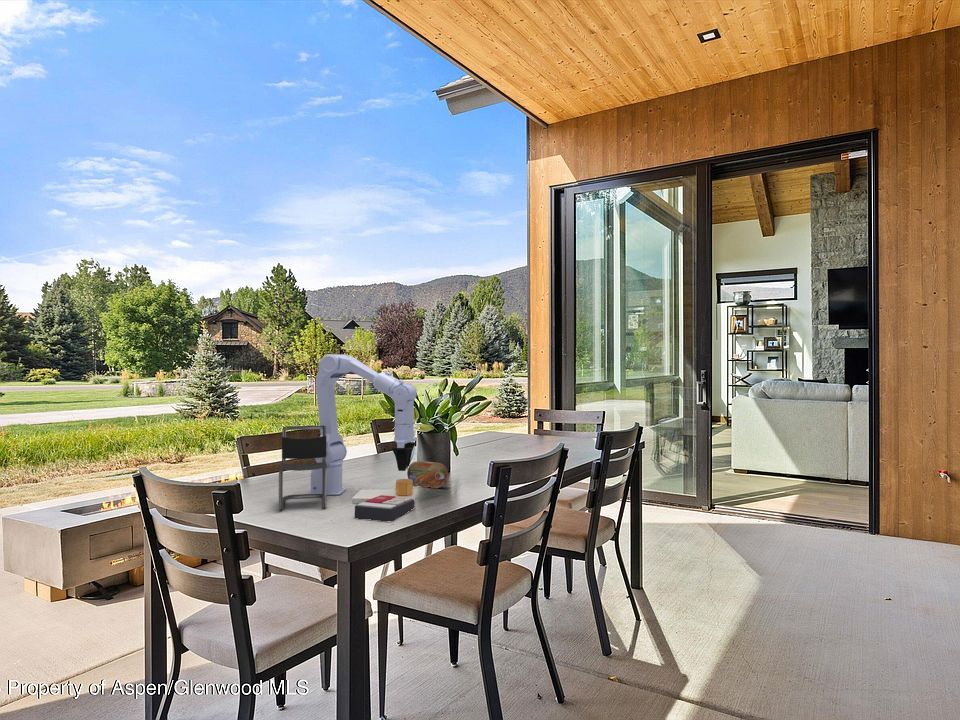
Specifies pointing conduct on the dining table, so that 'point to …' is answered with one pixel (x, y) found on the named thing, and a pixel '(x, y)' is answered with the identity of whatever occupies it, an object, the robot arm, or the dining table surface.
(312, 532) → the dining table surface
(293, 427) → the chair
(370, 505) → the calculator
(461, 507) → the dining table surface
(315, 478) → the robot arm
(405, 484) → the wooden cylinder block
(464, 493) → the dining table surface
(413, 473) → the tin
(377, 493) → the junction board
